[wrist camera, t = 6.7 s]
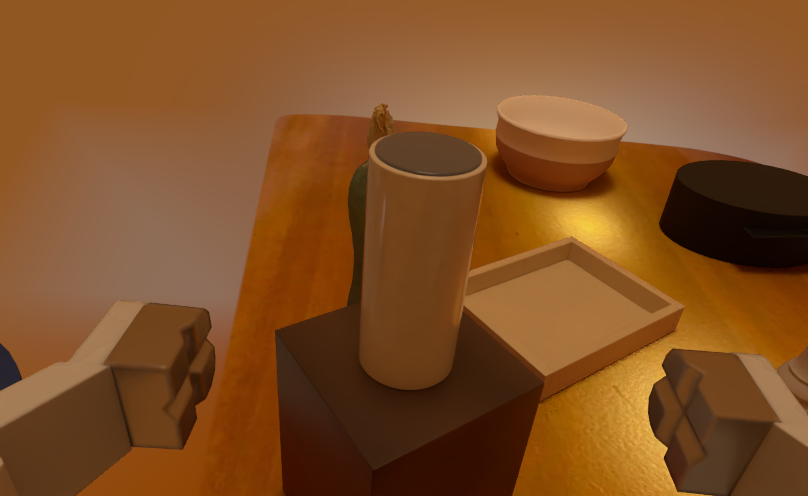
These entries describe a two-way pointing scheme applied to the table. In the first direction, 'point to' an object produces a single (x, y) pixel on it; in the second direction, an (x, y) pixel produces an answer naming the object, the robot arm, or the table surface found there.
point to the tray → (567, 310)
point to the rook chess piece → (797, 377)
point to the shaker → (417, 255)
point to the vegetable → (364, 199)
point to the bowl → (556, 141)
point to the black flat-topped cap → (739, 213)
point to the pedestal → (399, 417)
